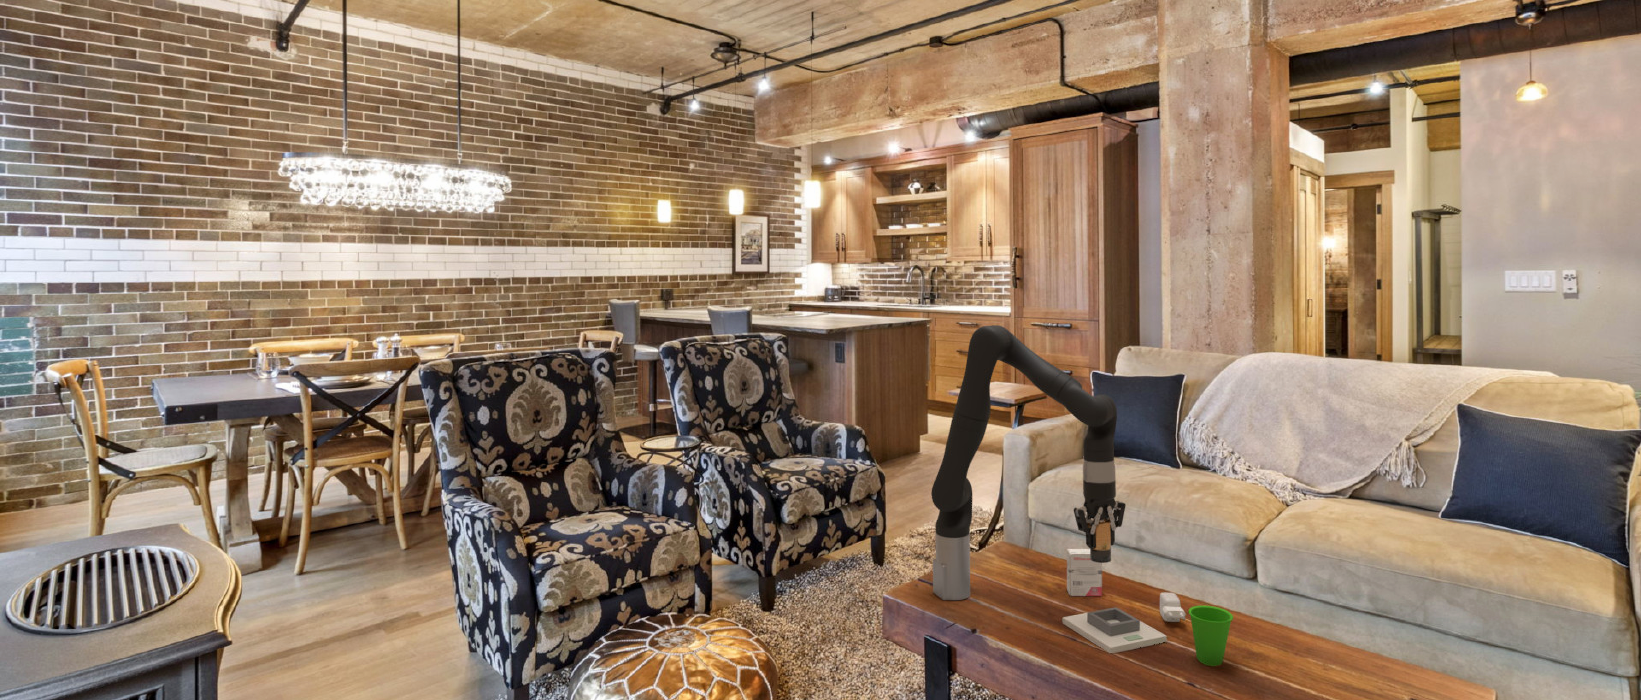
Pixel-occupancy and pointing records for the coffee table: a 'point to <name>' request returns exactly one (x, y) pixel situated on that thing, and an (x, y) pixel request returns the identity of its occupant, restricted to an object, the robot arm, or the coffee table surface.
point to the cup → (1210, 633)
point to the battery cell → (1102, 542)
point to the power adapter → (1171, 607)
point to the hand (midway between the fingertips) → (1100, 546)
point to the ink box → (1083, 574)
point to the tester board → (1114, 630)
